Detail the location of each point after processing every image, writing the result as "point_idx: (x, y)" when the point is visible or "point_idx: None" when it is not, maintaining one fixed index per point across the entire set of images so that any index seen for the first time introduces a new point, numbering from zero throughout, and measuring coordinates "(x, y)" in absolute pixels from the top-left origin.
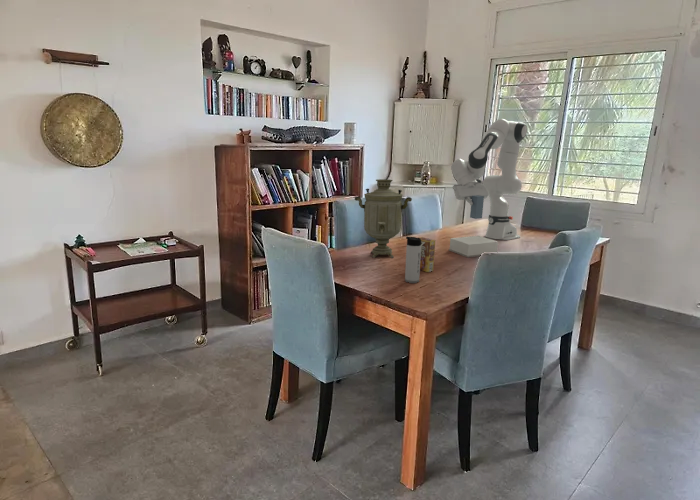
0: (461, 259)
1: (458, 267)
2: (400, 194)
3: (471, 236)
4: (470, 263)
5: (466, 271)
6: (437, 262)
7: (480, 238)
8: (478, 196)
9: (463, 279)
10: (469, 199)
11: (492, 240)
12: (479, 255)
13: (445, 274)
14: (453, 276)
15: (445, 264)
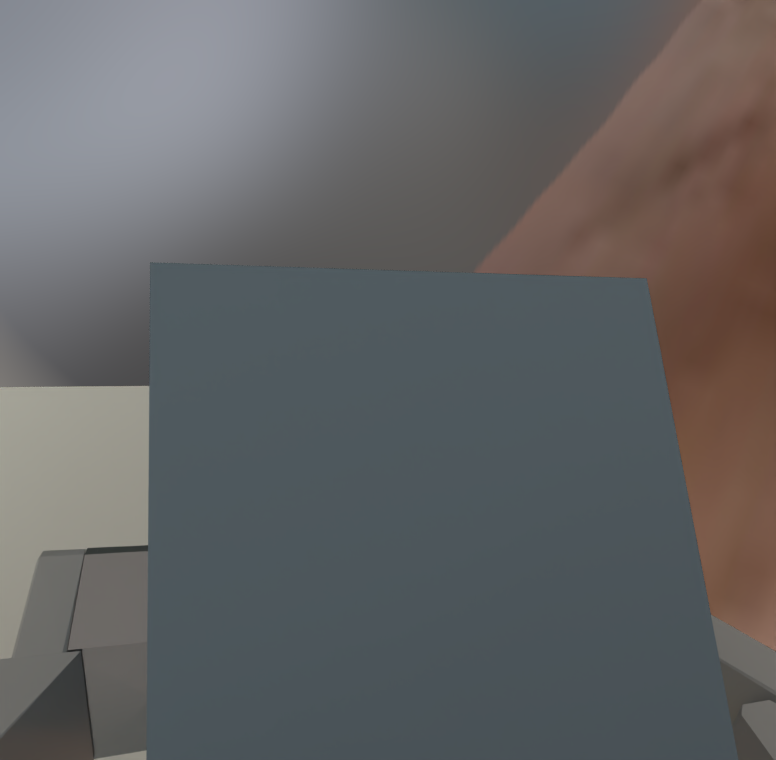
0: None
1: (635, 210)
2: None
3: None
4: (499, 255)
5: (626, 121)
6: (725, 373)
7: None
8: (545, 317)
9: (711, 22)
10: (761, 645)
11: (5, 471)
12: None
13: (771, 131)
14: (742, 84)
15: (690, 306)
